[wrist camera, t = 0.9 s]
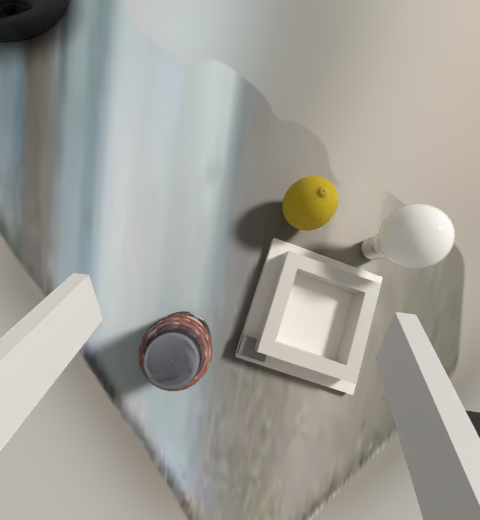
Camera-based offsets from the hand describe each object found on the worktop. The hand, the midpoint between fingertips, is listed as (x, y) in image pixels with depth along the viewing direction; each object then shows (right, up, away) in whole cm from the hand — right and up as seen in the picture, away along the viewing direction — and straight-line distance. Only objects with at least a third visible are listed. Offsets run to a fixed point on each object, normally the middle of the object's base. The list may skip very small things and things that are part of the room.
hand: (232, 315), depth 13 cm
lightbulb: (+16, +4, +23) cm, 29 cm away
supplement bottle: (-6, -6, +19) cm, 21 cm away
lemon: (+7, +8, +23) cm, 25 cm away
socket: (+8, -4, +21) cm, 23 cm away
